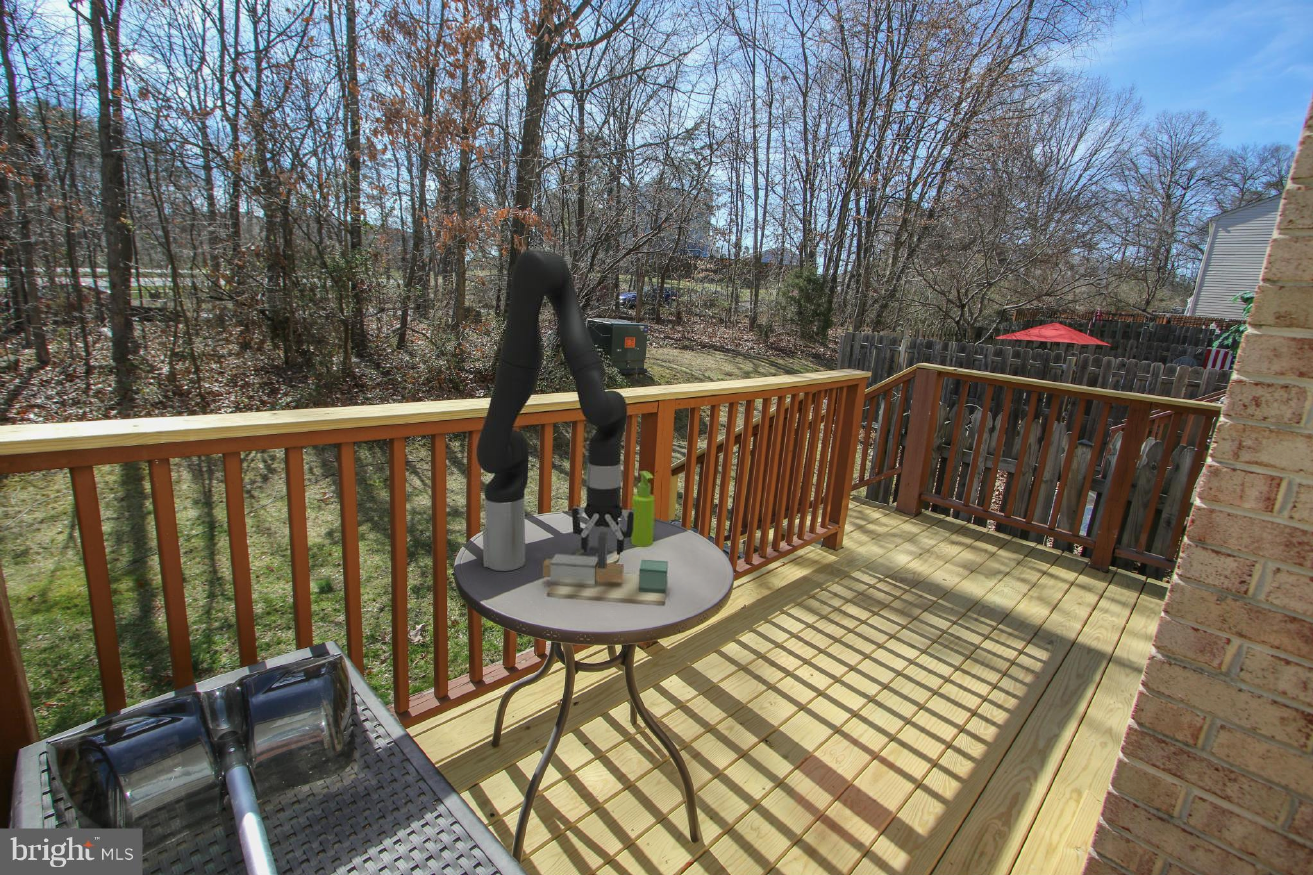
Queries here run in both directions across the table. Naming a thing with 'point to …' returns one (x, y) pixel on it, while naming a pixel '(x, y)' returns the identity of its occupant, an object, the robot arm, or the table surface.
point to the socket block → (653, 576)
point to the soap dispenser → (643, 513)
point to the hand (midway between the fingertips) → (602, 552)
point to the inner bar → (598, 564)
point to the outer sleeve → (573, 570)
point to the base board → (610, 592)
